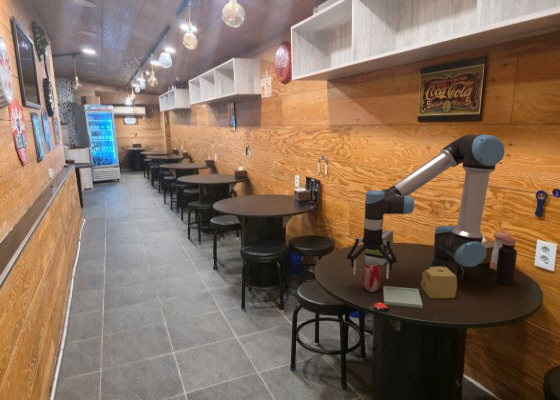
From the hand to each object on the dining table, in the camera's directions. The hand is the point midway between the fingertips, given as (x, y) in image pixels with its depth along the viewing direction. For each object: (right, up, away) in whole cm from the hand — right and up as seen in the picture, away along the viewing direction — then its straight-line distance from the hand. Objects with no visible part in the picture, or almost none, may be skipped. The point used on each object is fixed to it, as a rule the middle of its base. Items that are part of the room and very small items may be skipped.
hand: (370, 276), depth 151 cm
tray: (+11, -7, -7) cm, 15 cm away
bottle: (+60, -4, +5) cm, 61 cm away
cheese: (+27, -7, -3) cm, 28 cm away
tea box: (+13, +1, +35) cm, 38 cm away
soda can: (+1, -6, +1) cm, 6 cm away
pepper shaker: (+68, -1, +21) cm, 71 cm away
